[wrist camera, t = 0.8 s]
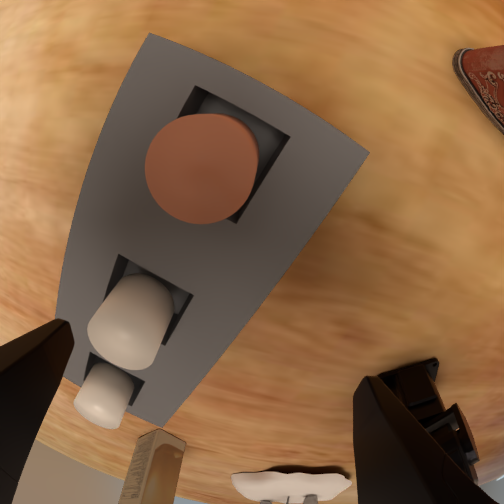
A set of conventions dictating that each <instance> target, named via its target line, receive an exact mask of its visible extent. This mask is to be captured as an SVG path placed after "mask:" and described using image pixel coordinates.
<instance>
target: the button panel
mask: <svg viewBox="0 0 504 504" xmlns="http://www.w3.org/2000/svg"><path fill="white" fill-rule="evenodd" d="M212 113H222V114H228V115H231V116H234V117H236V118H238V119H240V120H241V121H243V122H244V123H245V124H246V125H247V126H248V127H249V128H250V129H251V130H252V132H253V133H254V135H255V137H256V139H257V142H258V146H259V163H258V167H257V171H256V176H255V180H254V184H253V187H252V190H251V193H250V195H249V196H248V198H247V200H246V201H245V203H244V204H243V205H242V206H241V207H240V208H239V210H237V211H236V212H235V213H234V214H232V215H231V216H229V217H228V218H225V219H223V220H221V221H218V222H215V223H210V224H193V223H188V222H184V221H181V220H179V219H177V218H175V217H173V216H171V215H170V214H168V213H167V212H166V211H164V210H163V209H162V208H161V207H160V206H159V205H158V203H157V202H156V201H155V199H154V198H153V196H152V194H151V193H150V190H149V188H148V185H147V182H146V177H145V159H146V155H147V151H148V149H149V146H150V144H151V142H152V140H153V139H154V137H155V136H156V135H157V133H158V132H159V131H160V130H161V129H162V128H163V127H165V126H166V125H167V124H168V123H170V122H172V121H174V120H176V119H178V118H180V117H184V116H187V115H194V114H212ZM369 153H370V152H369V151H367V150H366V149H365V148H363V147H362V146H360V145H359V144H358V143H356V142H355V141H354V140H352V139H351V138H349V137H348V136H347V135H345V134H344V133H342V132H341V131H339V130H338V129H336V128H335V127H333V126H332V125H331V124H329V123H328V122H326V121H324V120H323V119H321V118H320V117H318V116H317V115H315V114H314V113H312V112H311V111H309V110H307V109H306V108H304V107H303V106H301V105H299V104H298V103H296V102H294V101H293V100H291V99H289V98H288V97H286V96H284V95H282V94H281V93H279V92H277V91H275V90H274V89H272V88H270V87H268V86H267V85H265V84H263V83H261V82H259V81H257V80H255V79H254V78H252V77H250V76H248V75H246V74H244V73H242V72H240V71H238V70H236V69H234V68H232V67H230V66H228V65H226V64H224V63H222V62H219V61H217V60H215V59H213V58H211V57H209V56H206V55H204V54H202V53H200V52H197V51H195V50H193V49H190V48H188V47H185V46H183V45H181V44H178V43H176V42H173V41H170V40H168V39H165V38H163V37H160V36H157V35H154V34H152V33H149V34H148V36H147V38H146V39H145V41H144V43H143V45H142V46H141V48H140V50H139V52H138V54H137V55H136V57H135V59H134V61H133V63H132V65H131V67H130V69H129V71H128V73H127V75H126V77H125V79H124V81H123V83H122V85H121V87H120V89H119V91H118V93H117V96H116V98H115V100H114V102H113V104H112V107H111V109H110V111H109V114H108V116H107V118H106V121H105V123H104V126H103V128H102V131H101V133H100V136H99V138H98V141H97V144H96V146H95V149H94V152H93V155H92V158H91V160H90V163H89V166H88V169H87V172H86V175H85V179H84V182H83V185H82V188H81V192H80V195H79V199H78V202H77V206H76V209H75V213H74V217H73V221H72V225H71V229H70V233H69V238H68V242H67V247H66V252H65V257H64V262H63V267H62V273H61V279H60V285H59V291H58V298H57V306H56V314H55V319H57V318H60V319H63V320H66V321H68V322H69V323H70V325H71V329H72V333H73V336H74V340H75V345H74V348H73V351H72V353H71V356H70V358H69V361H68V364H67V366H66V369H65V372H64V374H63V377H65V378H66V379H68V380H70V381H71V382H73V383H75V384H76V385H78V386H80V387H82V385H83V383H84V381H85V380H86V378H87V376H88V374H89V372H90V371H91V369H92V367H93V366H94V365H95V364H96V363H108V364H111V365H113V366H116V367H118V368H119V369H121V370H122V371H124V372H125V373H126V374H127V375H128V376H129V377H130V378H131V379H132V381H133V383H134V391H133V393H132V395H131V398H130V400H129V403H128V405H127V408H126V410H125V411H126V412H128V413H130V414H132V415H135V416H137V417H139V418H141V419H143V420H145V421H148V422H150V423H152V424H155V425H157V426H159V427H163V426H164V425H165V424H166V423H167V421H168V420H169V419H170V418H171V417H172V415H173V414H174V413H175V412H176V411H177V409H178V408H179V407H180V406H181V405H182V403H183V402H184V401H185V400H186V399H187V397H188V396H189V395H190V394H191V393H192V391H193V390H194V389H195V388H196V386H197V385H198V384H199V383H200V382H201V380H202V379H203V378H204V377H205V375H206V374H207V373H208V372H209V370H210V369H211V368H212V367H213V365H214V364H215V363H216V362H217V360H218V359H219V358H220V357H221V355H222V354H223V353H224V352H225V350H226V349H227V348H228V347H229V345H230V344H231V343H232V342H233V340H234V339H235V338H236V336H237V335H238V334H239V333H240V331H241V330H242V329H243V327H244V326H245V325H246V324H247V322H248V321H249V320H250V318H251V317H252V316H253V314H254V313H255V312H256V311H257V309H258V308H259V307H260V305H261V304H262V303H263V301H264V300H265V299H266V297H267V296H268V295H269V293H270V292H271V291H272V289H273V288H274V287H275V285H276V284H277V283H278V281H279V280H280V279H281V277H282V276H283V275H284V273H285V272H286V271H287V269H288V268H289V267H290V265H291V264H292V263H293V261H294V260H295V259H296V257H297V256H298V254H299V253H300V252H301V250H302V249H303V248H304V246H305V245H306V243H307V242H308V241H309V239H310V238H311V237H312V235H313V234H314V232H315V231H316V230H317V228H318V227H319V225H320V224H321V223H322V221H323V220H324V218H325V217H326V216H327V214H328V213H329V211H330V210H331V208H332V207H333V206H334V204H335V203H336V201H337V200H338V198H339V197H340V196H341V194H342V193H343V191H344V190H345V188H346V187H347V186H348V184H349V183H350V181H351V180H352V178H353V177H354V175H355V174H356V172H357V171H358V169H359V168H360V167H361V165H362V164H363V162H364V161H365V159H366V158H367V156H368V155H369ZM134 273H140V274H145V275H148V276H151V277H153V278H155V279H156V280H158V281H159V282H161V283H162V284H163V285H164V286H165V287H166V288H167V289H168V291H169V292H170V294H171V296H172V298H173V301H174V307H175V308H174V314H173V316H172V318H171V321H170V323H169V325H168V328H167V330H166V332H165V335H164V337H163V340H162V342H161V344H160V347H159V349H158V352H157V354H156V356H155V359H154V361H153V363H152V364H151V365H150V366H149V367H147V368H145V369H142V370H129V369H125V368H122V367H119V366H117V365H115V364H113V363H111V362H109V361H108V360H106V359H105V358H104V357H103V356H101V355H100V354H99V353H98V352H97V350H96V349H95V348H94V347H93V345H92V343H91V342H90V339H89V337H88V332H87V327H88V323H89V321H90V320H91V318H92V317H93V316H94V314H95V313H96V311H97V310H98V309H99V307H100V306H101V305H102V303H103V302H104V301H105V299H106V298H107V297H108V295H109V294H110V293H111V291H112V290H113V289H114V287H115V286H116V285H117V283H118V282H119V281H120V280H121V279H122V278H123V277H124V276H126V275H129V274H134Z"/></svg>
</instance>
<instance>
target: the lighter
mask: <svg viewBox="0 0 504 504" xmlns="http://www.w3.org/2000/svg"><path fill="white" fill-rule="evenodd" d="M453 69H454V72H455V74H456V75H457V77H458V78H459V80H460V81H461V83H462V84H463V86H464V87H465V89H466V90H467V92H468V93H469V95H470V96H471V97H472V99H473V100H474V101H475V103H476V104H477V105H478V107H479V108H480V109H481V111H482V112H483V113H484V114H485V115H486V116H487V118H488V119H489V120H490V121H491V122H492V123H493V124H494V126H495V127H496V128H497V129H498V130H500V131H501V132H502V133H503V134H504V45H501V46H494V47H487V48H480V49H473V48H465V49H461V50H458V51H457V52H456V53H455V54H454V57H453Z"/></svg>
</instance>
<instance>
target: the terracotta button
mask: <svg viewBox="0 0 504 504" xmlns="http://www.w3.org/2000/svg"><path fill="white" fill-rule="evenodd" d="M258 163H259V146H258V142H257V139H256V137H255V135H254V133H253V132H252V130H251V129H250V128H249V127H248V126H247V125H246V124H245V123H244V122H243V121H241V120H240V119H238V118H236V117H234V116H231V115H228V114H222V113H212V114H194V115H187V116H184V117H180V118H178V119H176V120H174V121H172V122H170V123H168V124H167V125H166V126H165V127H163V128H162V129H161V130H160V131H159V132H158V133H157V135H156V136H155V137H154V139H153V140H152V142H151V144H150V146H149V149H148V151H147V155H146V159H145V177H146V182H147V185H148V188H149V190H150V193H151V194H152V196H153V198H154V199H155V201H156V202H157V203H158V205H159V206H160V207H161V208H162V209H163V210H164V211H166V212H167V213H168V214H170V215H171V216H173V217H175V218H177V219H179V220H181V221H184V222H188V223H193V224H210V223H215V222H218V221H221V220H223V219H225V218H228V217H229V216H231V215H232V214H234V213H235V212H236V211H237V210H239V208H240V207H241V206H242V205H243V204H244V203H245V201H246V200H247V198H248V196H249V195H250V193H251V190H252V187H253V184H254V180H255V176H256V171H257V167H258Z"/></svg>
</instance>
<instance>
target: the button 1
mask: <svg viewBox="0 0 504 504" xmlns="http://www.w3.org/2000/svg"><path fill="white" fill-rule="evenodd" d="M174 308H175V307H174V301H173V298H172V296H171V294H170V292H169V291H168V289H167V288H166V287H165V286H164V285H163V284H162V283H161V282H159V281H158V280H156V279H155V278H153V277H151V276H148V275H145V274H140V273H134V274H129V275H126V276H124V277H123V278H122V279H121V280H120V281H119V282H118V283H117V285H116V286H115V287H114V289H113V290H112V291H111V293H110V294H109V295H108V297H107V298H106V299H105V301H104V302H103V303H102V305H101V306H100V307H99V309H98V310H97V311H96V313H95V314H94V316H93V317H92V318H91V320H90V321H89V323H88V327H87V332H88V337H89V339H90V342H91V343H92V345H93V347H94V348H95V349H96V350H97V352H98V353H99V354H100V355H101V356H103V357H104V358H105V359H106V360H108V361H109V362H111V363H113V364H115V365H117V366H119V367H122V368H125V369H129V370H142V369H145V368H147V367H149V366H150V365H151V364H152V363H153V361H154V359H155V356H156V354H157V352H158V349H159V347H160V344H161V342H162V340H163V337H164V335H165V332H166V330H167V328H168V325H169V323H170V321H171V318H172V316H173V314H174Z"/></svg>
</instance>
